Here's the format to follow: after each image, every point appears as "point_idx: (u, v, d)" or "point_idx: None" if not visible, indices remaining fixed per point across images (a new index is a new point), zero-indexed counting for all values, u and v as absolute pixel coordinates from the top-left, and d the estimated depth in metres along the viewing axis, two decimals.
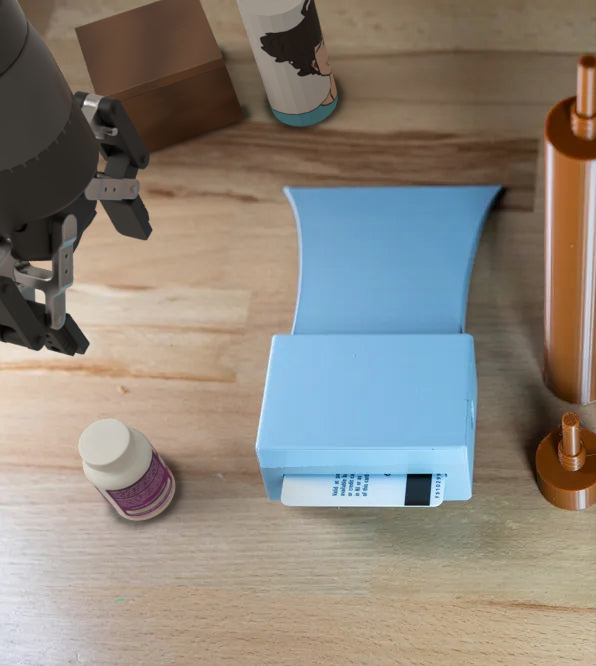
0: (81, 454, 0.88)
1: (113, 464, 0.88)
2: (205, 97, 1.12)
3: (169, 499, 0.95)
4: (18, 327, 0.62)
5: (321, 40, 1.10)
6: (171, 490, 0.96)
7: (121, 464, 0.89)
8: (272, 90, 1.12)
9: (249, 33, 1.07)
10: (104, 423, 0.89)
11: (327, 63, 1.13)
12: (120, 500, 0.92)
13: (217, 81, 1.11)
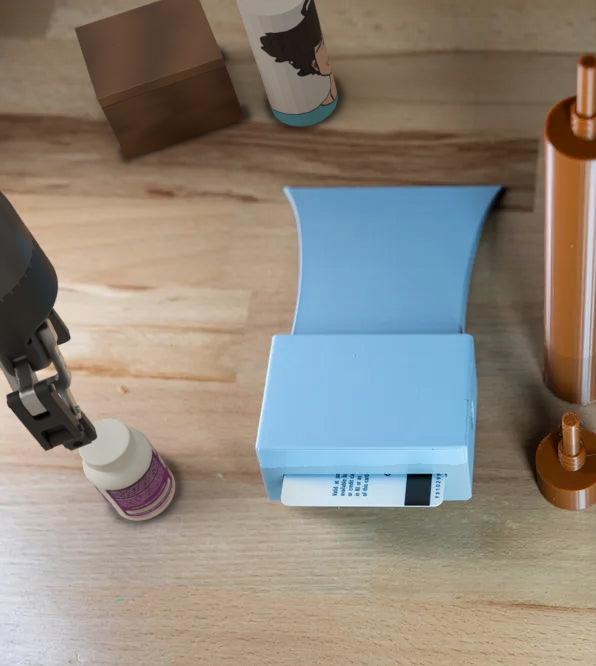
0: (81, 454, 0.88)
1: (113, 464, 0.88)
2: (205, 97, 1.12)
3: (169, 499, 0.95)
4: (67, 420, 0.72)
5: (321, 40, 1.10)
6: (171, 490, 0.96)
7: (121, 464, 0.89)
8: (272, 90, 1.12)
9: (249, 33, 1.07)
10: (104, 423, 0.89)
11: (327, 63, 1.13)
12: (120, 500, 0.92)
13: (217, 81, 1.11)
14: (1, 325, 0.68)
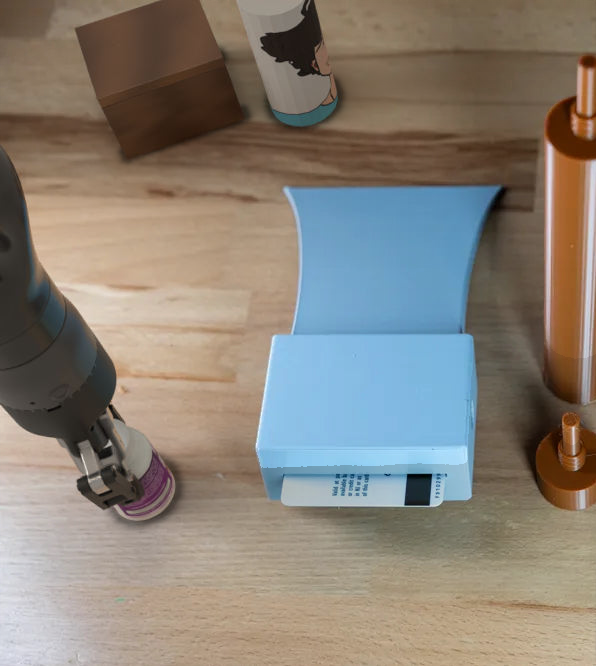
0: None
1: None
2: (205, 97, 1.12)
3: (169, 499, 0.95)
4: (126, 491, 0.83)
5: (321, 40, 1.10)
6: (171, 490, 0.96)
7: None
8: (272, 90, 1.12)
9: (249, 33, 1.07)
10: None
11: (327, 63, 1.13)
12: None
13: (217, 81, 1.11)
14: (69, 417, 0.78)
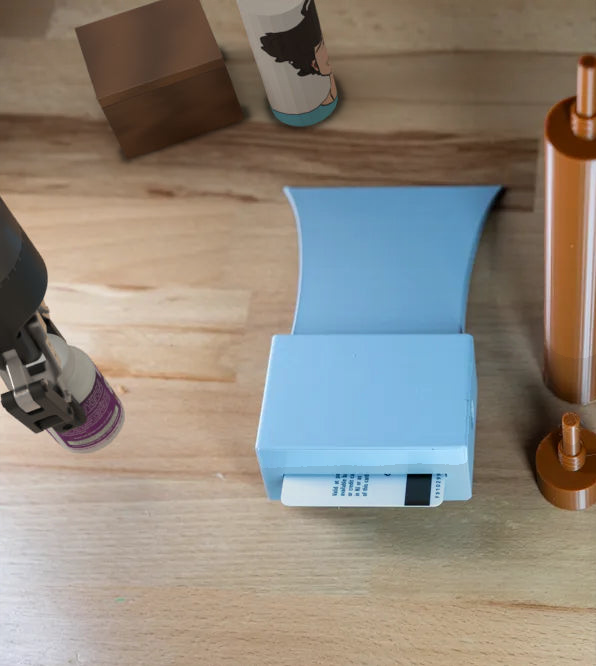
0: None
1: (49, 384, 0.77)
2: (205, 97, 1.12)
3: (117, 430, 0.85)
4: (60, 411, 0.73)
5: (321, 40, 1.10)
6: (120, 419, 0.85)
7: None
8: (272, 90, 1.12)
9: (249, 33, 1.07)
10: None
11: (327, 63, 1.13)
12: None
13: (217, 81, 1.11)
14: None
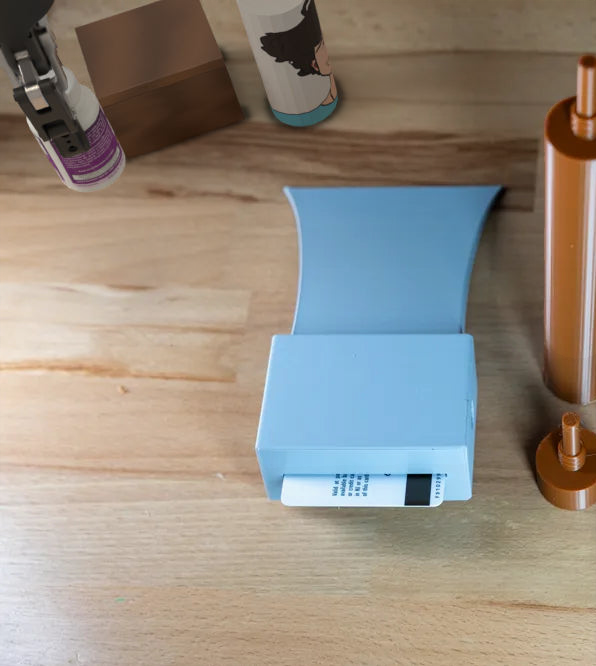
0: None
1: None
2: (205, 97, 1.12)
3: (118, 171, 0.92)
4: (66, 115, 0.80)
5: (321, 40, 1.10)
6: (121, 161, 0.92)
7: None
8: (272, 90, 1.12)
9: (249, 33, 1.07)
10: None
11: (327, 63, 1.13)
12: (66, 158, 0.88)
13: (217, 81, 1.11)
14: (4, 10, 0.75)
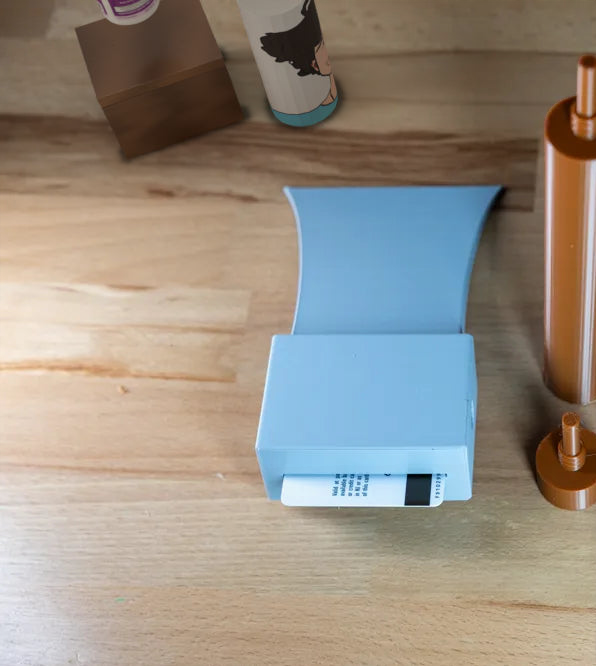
0: None
1: None
2: (205, 97, 1.12)
3: (154, 6, 1.06)
4: None
5: (321, 40, 1.10)
6: None
7: None
8: (272, 90, 1.12)
9: (249, 33, 1.07)
10: None
11: (327, 63, 1.13)
12: None
13: (217, 81, 1.11)
14: None
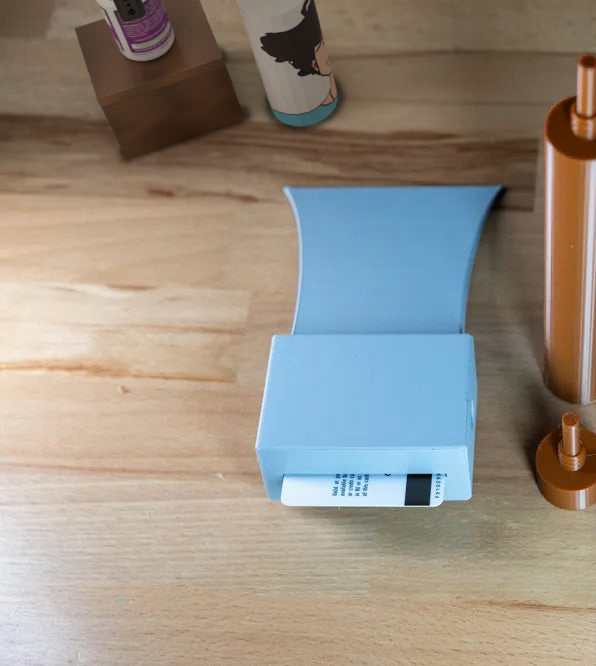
0: None
1: None
2: (205, 97, 1.12)
3: (169, 43, 1.09)
4: None
5: (321, 40, 1.10)
6: (171, 35, 1.10)
7: None
8: (272, 90, 1.12)
9: (249, 33, 1.07)
10: None
11: (327, 63, 1.13)
12: (126, 28, 1.06)
13: (217, 81, 1.11)
14: None
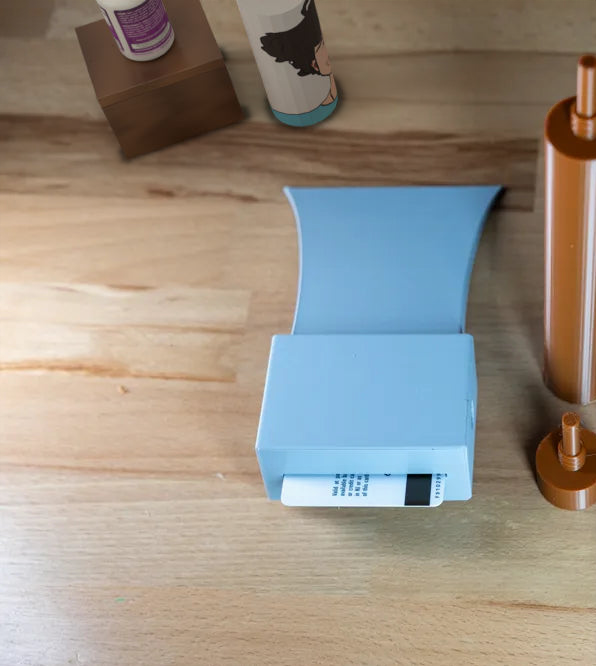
0: None
1: None
2: (205, 97, 1.12)
3: (169, 43, 1.09)
4: None
5: (321, 40, 1.10)
6: (171, 35, 1.10)
7: None
8: (272, 90, 1.12)
9: (249, 33, 1.07)
10: None
11: (327, 63, 1.13)
12: (126, 28, 1.06)
13: (217, 81, 1.11)
14: None
